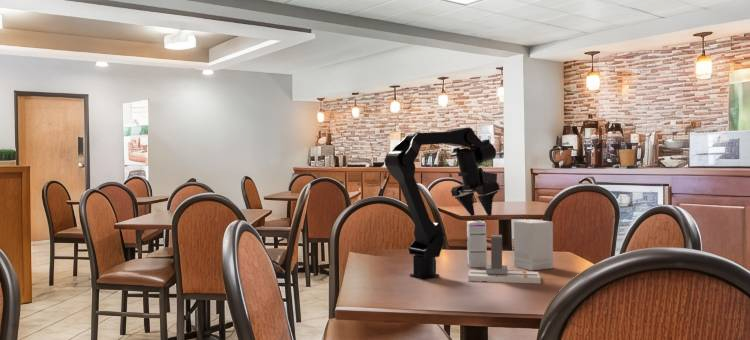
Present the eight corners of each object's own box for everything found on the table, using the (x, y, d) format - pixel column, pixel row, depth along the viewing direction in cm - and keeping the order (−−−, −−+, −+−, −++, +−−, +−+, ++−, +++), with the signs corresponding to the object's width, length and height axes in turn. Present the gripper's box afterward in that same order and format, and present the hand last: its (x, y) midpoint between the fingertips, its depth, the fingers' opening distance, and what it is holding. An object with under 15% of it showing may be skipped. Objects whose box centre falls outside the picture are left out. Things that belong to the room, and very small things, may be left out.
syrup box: (487, 267, 190) (487, 222, 190) (468, 267, 190) (468, 222, 190) (484, 264, 196) (484, 220, 195) (466, 264, 196) (466, 220, 195)
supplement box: (554, 268, 188) (554, 221, 187) (531, 271, 184) (531, 222, 184) (534, 264, 196) (534, 218, 196) (513, 266, 192) (513, 220, 192)
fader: (486, 273, 170) (485, 236, 169) (486, 269, 176) (486, 234, 175) (507, 274, 169) (507, 237, 168) (506, 270, 174) (506, 234, 174)
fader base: (468, 281, 169) (468, 274, 169) (469, 274, 178) (469, 268, 178) (540, 283, 165) (540, 277, 165) (537, 277, 174) (537, 271, 174)
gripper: (507, 158, 179) (520, 208, 180) (472, 163, 196) (484, 208, 197) (477, 167, 175) (491, 218, 175) (445, 171, 192) (457, 218, 192)
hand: (481, 215), depth 185 cm, fingers open, 9 cm apart
